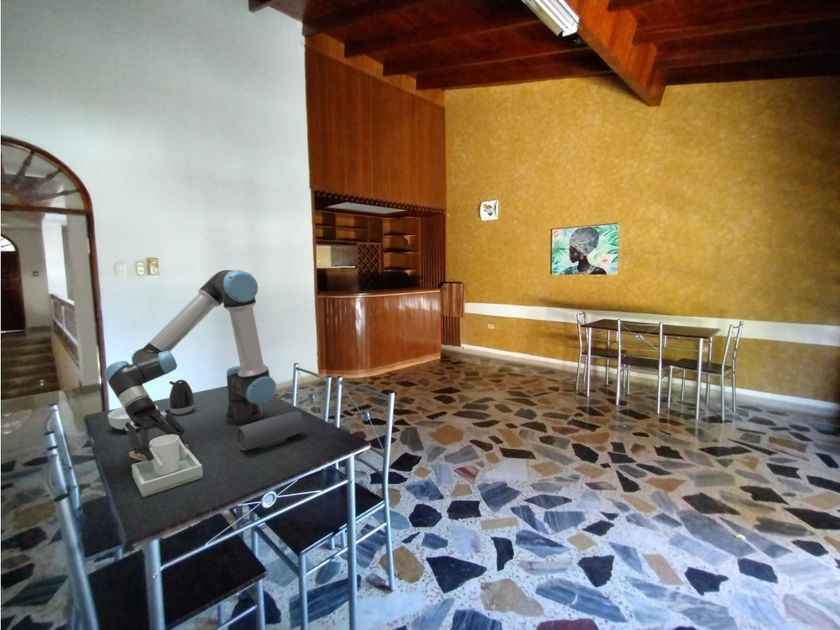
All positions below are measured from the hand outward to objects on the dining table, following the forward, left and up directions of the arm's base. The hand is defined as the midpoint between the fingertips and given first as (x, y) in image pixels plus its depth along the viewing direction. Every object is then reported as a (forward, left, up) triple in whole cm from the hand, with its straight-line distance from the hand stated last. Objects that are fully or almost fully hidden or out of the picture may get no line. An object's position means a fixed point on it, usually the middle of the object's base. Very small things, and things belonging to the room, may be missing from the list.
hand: (173, 461), depth 127 cm
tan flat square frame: (+9, -22, -6) cm, 25 cm away
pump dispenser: (+10, -64, -6) cm, 65 cm away
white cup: (+2, -3, -4) cm, 5 cm away
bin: (+2, -2, -6) cm, 7 cm away
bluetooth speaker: (-29, -17, -6) cm, 34 cm away
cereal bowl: (+25, -52, -6) cm, 59 cm away
